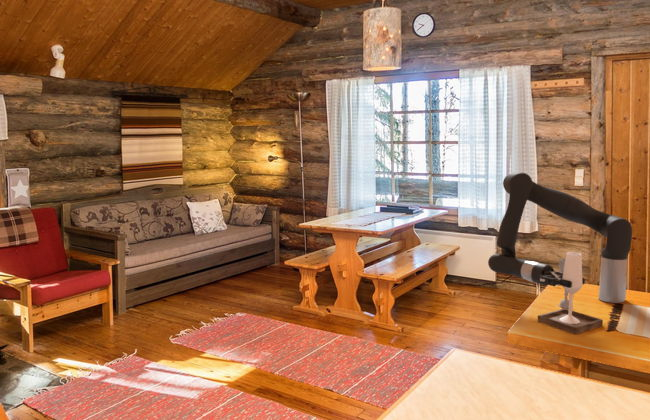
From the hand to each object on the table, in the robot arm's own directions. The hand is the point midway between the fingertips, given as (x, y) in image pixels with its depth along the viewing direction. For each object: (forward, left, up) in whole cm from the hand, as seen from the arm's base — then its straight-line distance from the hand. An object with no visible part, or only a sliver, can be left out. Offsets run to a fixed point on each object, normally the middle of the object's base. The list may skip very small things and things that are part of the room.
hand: (577, 283), depth 196 cm
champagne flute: (0, -2, -14) cm, 14 cm away
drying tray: (0, -2, -15) cm, 15 cm away
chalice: (-16, -15, -15) cm, 27 cm away
